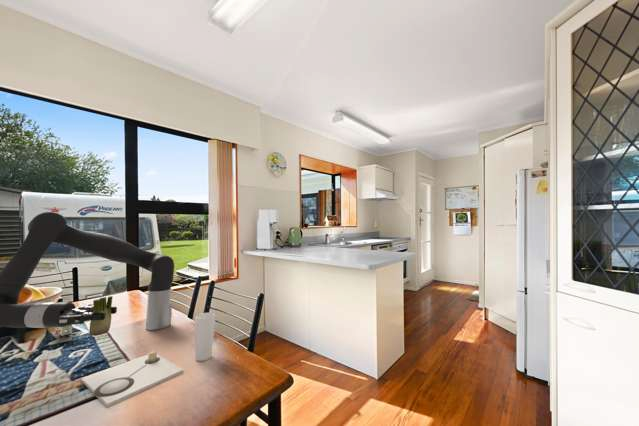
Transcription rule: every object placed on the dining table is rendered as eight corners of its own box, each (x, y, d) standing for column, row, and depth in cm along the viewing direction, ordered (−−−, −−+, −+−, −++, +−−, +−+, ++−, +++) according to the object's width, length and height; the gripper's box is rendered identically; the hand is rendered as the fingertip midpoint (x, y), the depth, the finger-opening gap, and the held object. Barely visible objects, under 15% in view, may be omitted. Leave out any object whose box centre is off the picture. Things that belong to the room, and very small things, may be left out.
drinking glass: (217, 355, 94) (219, 313, 95) (203, 364, 88) (205, 319, 89) (202, 352, 97) (204, 311, 98) (188, 360, 90) (190, 317, 91)
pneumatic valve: (59, 339, 105) (62, 309, 105) (56, 331, 112) (59, 303, 113) (78, 335, 109) (80, 306, 110) (74, 328, 116) (76, 301, 117)
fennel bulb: (109, 329, 88) (112, 294, 89) (112, 334, 85) (115, 297, 86) (86, 334, 84) (90, 297, 85) (89, 339, 81) (92, 300, 81)
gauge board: (153, 354, 94) (153, 345, 94) (183, 372, 83) (183, 361, 83) (78, 381, 77) (79, 370, 77) (104, 408, 66) (105, 394, 66)
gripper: (32, 309, 76) (97, 308, 79) (69, 297, 90) (123, 296, 93) (29, 336, 75) (95, 333, 79) (67, 319, 89) (121, 317, 93)
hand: (110, 313), depth 86 cm, fingers closed on fennel bulb, 5 cm apart
